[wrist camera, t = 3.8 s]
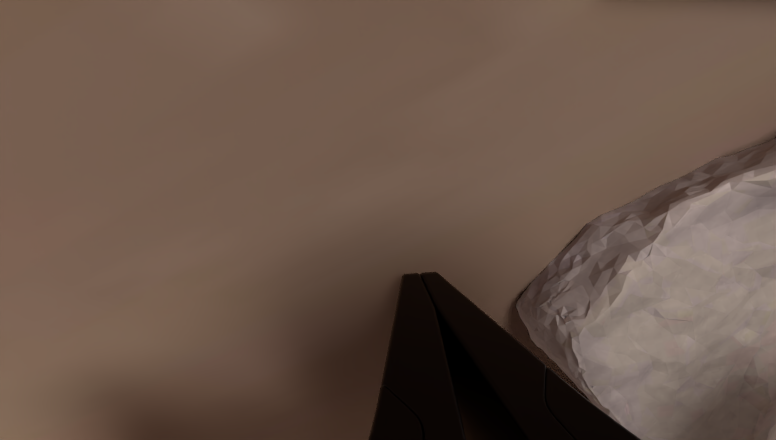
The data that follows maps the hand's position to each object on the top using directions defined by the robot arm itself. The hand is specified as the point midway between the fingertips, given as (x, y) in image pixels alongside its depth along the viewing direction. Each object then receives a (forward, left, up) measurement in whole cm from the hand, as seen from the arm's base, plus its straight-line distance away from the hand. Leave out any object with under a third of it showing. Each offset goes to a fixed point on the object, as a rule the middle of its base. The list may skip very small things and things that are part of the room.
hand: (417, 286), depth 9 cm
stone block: (-9, 0, -1) cm, 10 cm away
